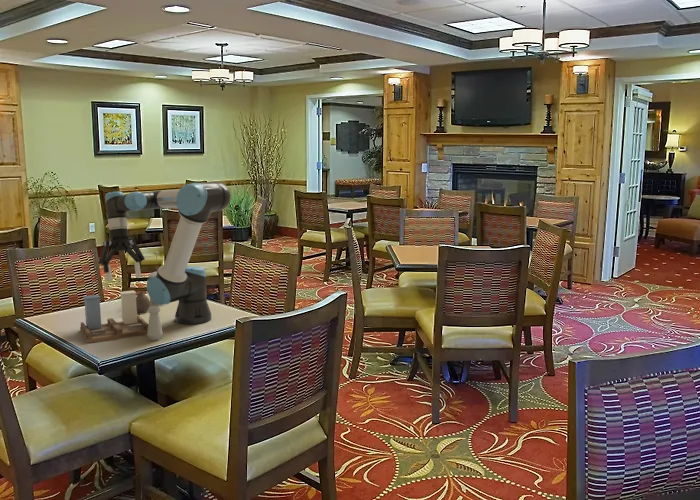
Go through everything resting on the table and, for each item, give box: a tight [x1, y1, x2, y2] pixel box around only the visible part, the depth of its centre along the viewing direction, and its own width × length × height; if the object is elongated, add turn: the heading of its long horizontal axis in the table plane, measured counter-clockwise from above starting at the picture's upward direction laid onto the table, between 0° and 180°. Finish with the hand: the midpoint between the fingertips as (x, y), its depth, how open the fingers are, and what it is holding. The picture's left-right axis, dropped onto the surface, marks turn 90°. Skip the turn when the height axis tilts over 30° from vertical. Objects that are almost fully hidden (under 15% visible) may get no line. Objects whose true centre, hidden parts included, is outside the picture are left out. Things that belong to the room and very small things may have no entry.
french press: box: [146, 250, 168, 307], centre depth 292 cm, size 10×12×25 cm
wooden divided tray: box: [80, 314, 149, 344], centre depth 249 cm, size 18×23×4 cm
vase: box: [136, 291, 150, 314], centre depth 279 cm, size 7×7×9 cm
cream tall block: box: [119, 290, 138, 324], centre depth 256 cm, size 4×5×13 cm
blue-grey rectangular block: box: [83, 294, 102, 330], centre depth 248 cm, size 4×5×13 cm
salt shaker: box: [146, 306, 164, 342], centre depth 240 cm, size 6×6×13 cm
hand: (124, 279), depth 262 cm, fingers open, 13 cm apart
